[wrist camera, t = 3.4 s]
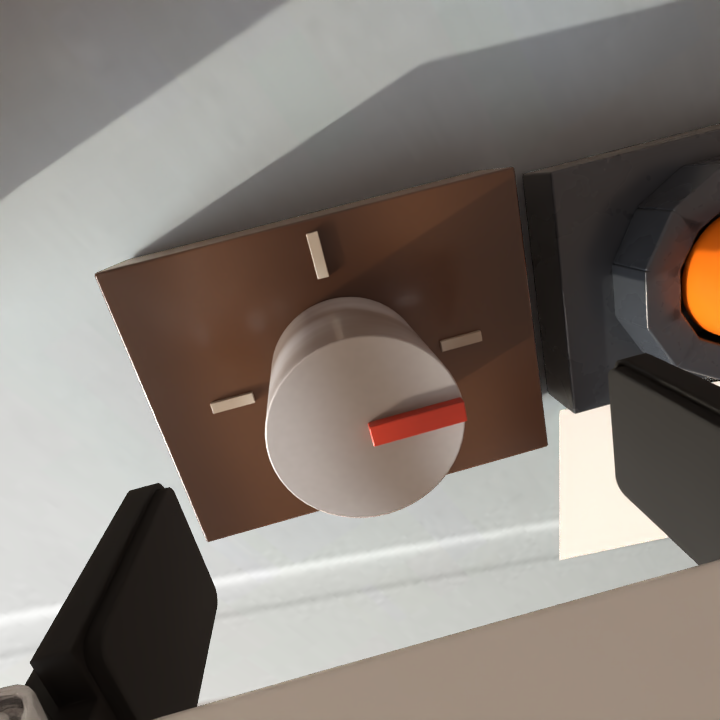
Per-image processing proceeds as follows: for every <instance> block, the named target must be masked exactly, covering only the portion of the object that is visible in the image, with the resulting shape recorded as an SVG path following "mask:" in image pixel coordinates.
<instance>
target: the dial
mask: <svg viewBox="0 0 720 720" xmlns="http://www.w3.org/2000/svg"><path fill="white" fill-rule="evenodd" d="M465 421H467V414H466V408H465V403H464V401H463V400H462V396H461V393H460V390H459V388H458V386H457V383H456V381H455V380H454V378H453V377H452V375H451V373H450V372H449V371H448V369H447V368H446V367H445V366H444V365H443V363H442V362H441V361H440V360H439V359H438V358H437V356H436V355H435V354H434V353H433V352H432V351H431V350H430V349H429V347H428V346H427V345H426V344H425V343H424V342H423V341H422V339H421V338H420V337H419V336H418V335H417V334H416V333H415V331H414V330H413V329H412V328H411V327H410V326H409V325H408V324H407V322H406V321H405V320H404V319H403V318H402V317H401V316H400V315H399V314H397V313H396V312H395V311H393V310H392V309H390V308H389V307H387V306H385V305H383V304H381V303H379V302H376V301H373V300H370V299H365V298H360V297H339V298H334V299H329V300H326V301H323V302H320V303H318V304H316V305H314V306H312V307H310V308H308V309H307V310H305V311H304V312H302V313H301V314H300V315H298V316H297V317H296V318H295V319H294V320H293V321H292V322H291V323H290V324H289V325H288V326H287V328H286V329H285V331H284V332H283V334H282V335H281V337H280V339H279V341H278V343H277V345H276V348H275V351H274V354H273V360H272V366H271V376H270V385H269V394H268V403H267V413H266V422H265V440H266V448H267V452H268V456H269V459H270V462H271V464H272V466H273V469H274V471H275V472H276V474H277V475H278V477H279V479H280V480H281V481H282V483H283V484H284V485H285V486H286V487H287V489H288V490H289V491H291V492H292V493H293V494H294V495H295V496H296V497H297V498H299V499H300V500H302V501H303V502H304V503H306V504H308V505H310V506H311V507H313V508H315V509H317V510H320V511H323V512H326V513H328V514H332V515H337V516H342V517H350V518H366V517H375V516H380V515H385V514H389V513H392V512H395V511H398V510H401V509H403V508H405V507H407V506H409V505H411V504H413V503H415V502H416V501H418V500H419V499H421V498H423V497H424V496H425V495H426V494H428V493H429V492H430V491H431V490H433V489H434V488H435V487H436V486H437V485H438V484H439V483H440V482H441V480H442V479H443V478H444V477H445V475H446V474H447V473H448V471H449V470H450V468H451V467H452V465H453V463H454V462H455V459H456V457H457V455H458V453H459V450H460V447H461V444H462V441H463V435H464V429H465Z"/></svg>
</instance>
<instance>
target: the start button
mask: <svg viewBox="0 0 720 720" xmlns="http://www.w3.org/2000/svg"><path fill="white" fill-rule="evenodd" d="M681 290H682V298H683V303H684V305H685V308H686V310H687V312H688V314H689V316H690V317H691V318H692V320H693V321H694V322H695V323H696V324H697V325H698V326H700V327H701V328H702V329H704V330H706V331H708V332H711V333H713V334H716V335H719V336H720V216H719V217H718V218H717V219H716V220H714V221H713V222H712V223H711V224H710V225H709V226H708V227H707V228H706V229H705V230H704V231H703V232H702V234H701V235H700V236H699V237H698V239H697V240H696V242H695V243H694V245H693V247H692V249H691V251H690V252H689V255H688V257H687V260H686V262H685V266H684V269H683V274H682V283H681Z"/></svg>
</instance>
